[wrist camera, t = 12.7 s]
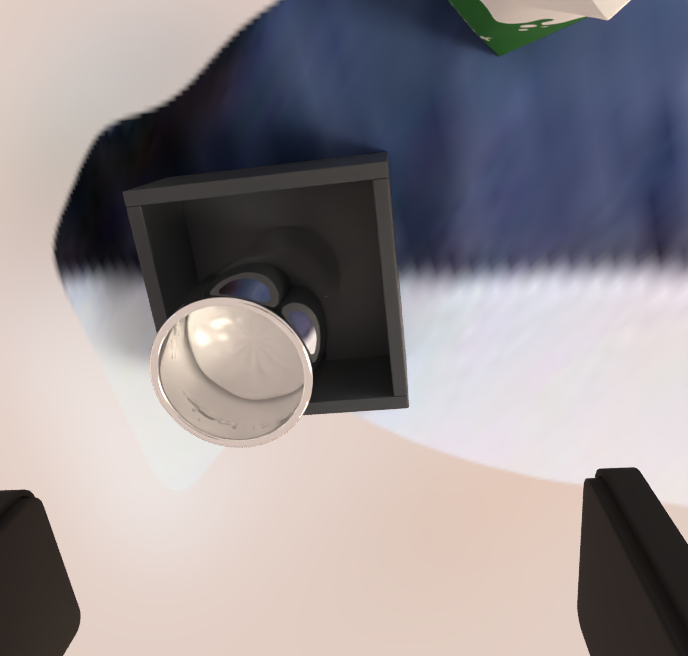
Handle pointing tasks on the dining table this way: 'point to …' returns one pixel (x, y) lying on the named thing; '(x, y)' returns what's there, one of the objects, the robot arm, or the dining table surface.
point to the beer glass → (249, 342)
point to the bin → (299, 213)
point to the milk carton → (528, 18)
